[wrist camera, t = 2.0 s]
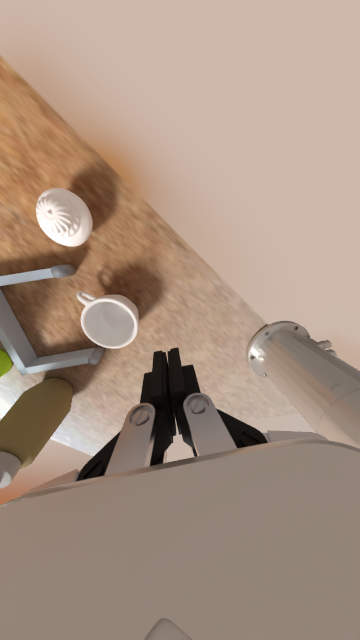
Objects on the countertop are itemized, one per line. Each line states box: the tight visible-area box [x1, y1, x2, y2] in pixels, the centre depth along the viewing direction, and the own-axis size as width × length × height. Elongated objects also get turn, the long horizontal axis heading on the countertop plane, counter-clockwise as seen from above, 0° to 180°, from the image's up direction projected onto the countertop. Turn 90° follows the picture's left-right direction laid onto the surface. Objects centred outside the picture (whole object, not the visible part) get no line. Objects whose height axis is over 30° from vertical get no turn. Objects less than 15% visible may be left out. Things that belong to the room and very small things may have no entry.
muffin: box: [36, 188, 93, 246], centre depth 21 cm, size 6×6×7 cm
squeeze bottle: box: [0, 378, 73, 488], centre depth 25 cm, size 8×8×18 cm
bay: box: [0, 264, 105, 375], centre depth 27 cm, size 13×16×4 cm
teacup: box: [76, 291, 139, 348], centre depth 27 cm, size 10×8×5 cm
